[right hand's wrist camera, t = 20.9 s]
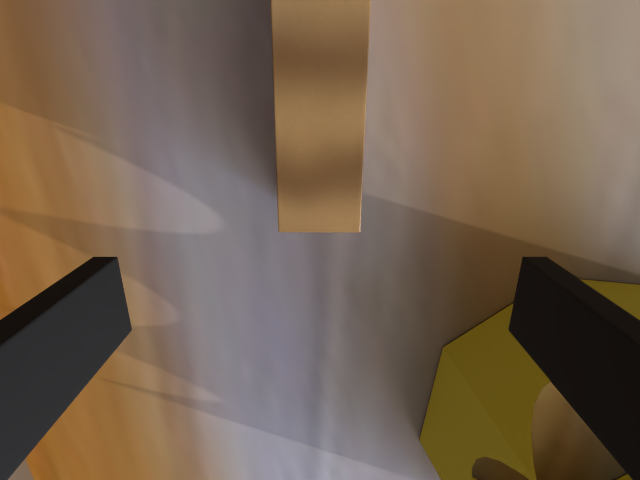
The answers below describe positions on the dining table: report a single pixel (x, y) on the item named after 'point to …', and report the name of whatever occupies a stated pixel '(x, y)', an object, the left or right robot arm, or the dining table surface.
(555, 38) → the dining table surface
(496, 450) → the crown
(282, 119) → the box
